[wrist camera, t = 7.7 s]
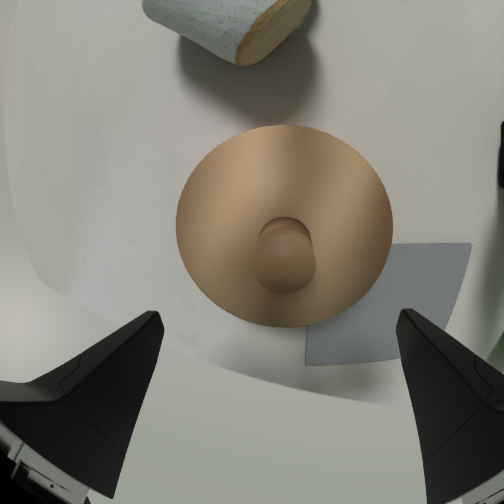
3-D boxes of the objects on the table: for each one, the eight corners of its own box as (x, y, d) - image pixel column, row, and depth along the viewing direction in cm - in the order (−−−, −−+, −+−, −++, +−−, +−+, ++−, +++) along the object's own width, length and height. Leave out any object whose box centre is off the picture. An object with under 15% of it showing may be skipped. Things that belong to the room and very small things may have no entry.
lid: (394, 128, 12) (423, 131, 9) (374, 318, 18) (386, 353, 15) (164, 137, 14) (133, 143, 11) (198, 320, 20) (184, 354, 17)
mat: (469, 243, 19) (472, 245, 19) (433, 350, 25) (434, 352, 25) (310, 245, 22) (311, 248, 21) (305, 362, 28) (305, 366, 27)
